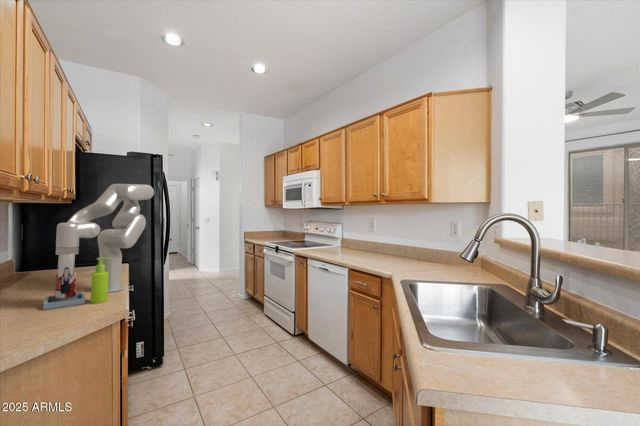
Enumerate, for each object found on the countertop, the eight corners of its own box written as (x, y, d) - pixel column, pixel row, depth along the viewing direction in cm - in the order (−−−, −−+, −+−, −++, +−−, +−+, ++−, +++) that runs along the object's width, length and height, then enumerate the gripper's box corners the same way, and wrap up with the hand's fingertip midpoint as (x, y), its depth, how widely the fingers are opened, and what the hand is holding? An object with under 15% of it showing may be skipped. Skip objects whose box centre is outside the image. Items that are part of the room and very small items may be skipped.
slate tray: (45, 302, 124) (45, 296, 124) (83, 297, 133) (84, 291, 133) (43, 310, 115) (43, 304, 115) (84, 304, 123) (85, 298, 123)
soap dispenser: (109, 302, 127) (111, 258, 127) (89, 304, 124) (91, 259, 124) (110, 298, 132) (112, 256, 132) (91, 300, 128) (93, 257, 129)
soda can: (63, 300, 120) (64, 272, 120) (50, 299, 121) (51, 271, 121) (79, 296, 127) (80, 269, 127) (67, 295, 128) (68, 268, 128)
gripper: (56, 248, 128) (55, 288, 128) (54, 253, 115) (53, 297, 115) (78, 247, 133) (76, 285, 133) (79, 252, 120) (77, 294, 120)
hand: (65, 290), depth 124 cm, fingers closed on soda can, 6 cm apart
